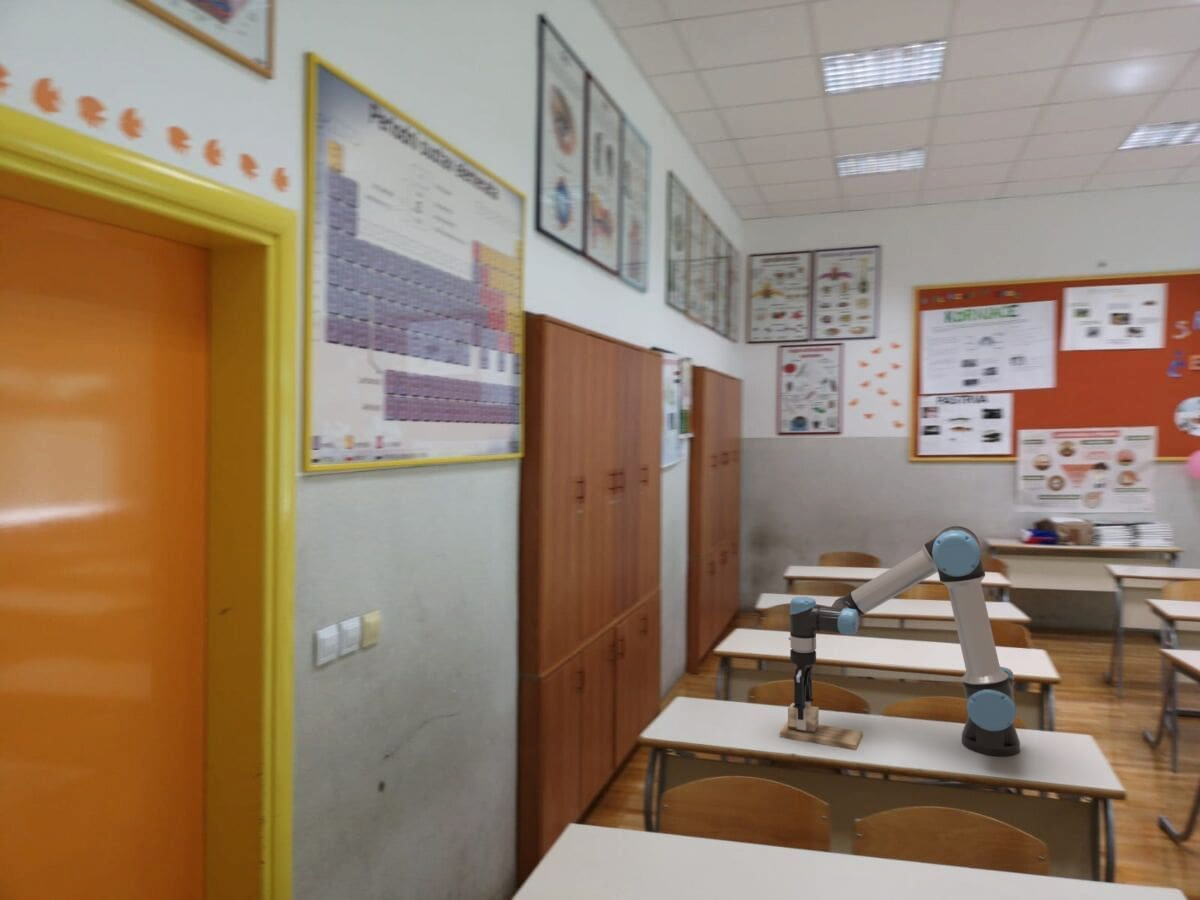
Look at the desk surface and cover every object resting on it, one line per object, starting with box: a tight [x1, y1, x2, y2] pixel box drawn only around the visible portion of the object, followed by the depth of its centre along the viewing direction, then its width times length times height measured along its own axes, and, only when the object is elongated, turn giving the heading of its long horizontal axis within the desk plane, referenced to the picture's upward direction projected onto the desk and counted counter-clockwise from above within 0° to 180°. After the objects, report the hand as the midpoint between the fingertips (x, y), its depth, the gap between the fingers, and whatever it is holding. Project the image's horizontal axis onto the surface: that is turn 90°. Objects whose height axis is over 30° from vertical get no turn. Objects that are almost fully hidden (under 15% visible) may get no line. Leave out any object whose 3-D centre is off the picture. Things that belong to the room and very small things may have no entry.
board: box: [779, 721, 863, 751], centre depth 237 cm, size 22×11×2 cm, turn 62°
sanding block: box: [787, 702, 820, 733], centre depth 240 cm, size 8×5×6 cm, turn 62°
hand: (803, 725), depth 240 cm, fingers closed on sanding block, 5 cm apart
